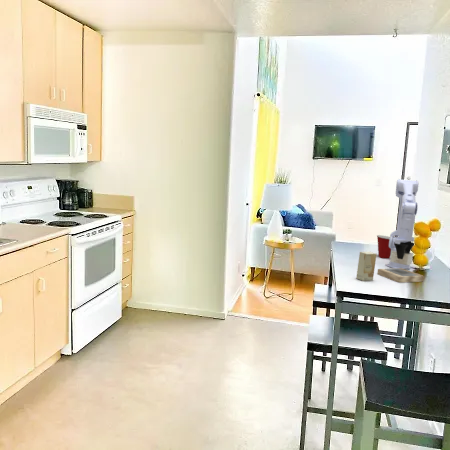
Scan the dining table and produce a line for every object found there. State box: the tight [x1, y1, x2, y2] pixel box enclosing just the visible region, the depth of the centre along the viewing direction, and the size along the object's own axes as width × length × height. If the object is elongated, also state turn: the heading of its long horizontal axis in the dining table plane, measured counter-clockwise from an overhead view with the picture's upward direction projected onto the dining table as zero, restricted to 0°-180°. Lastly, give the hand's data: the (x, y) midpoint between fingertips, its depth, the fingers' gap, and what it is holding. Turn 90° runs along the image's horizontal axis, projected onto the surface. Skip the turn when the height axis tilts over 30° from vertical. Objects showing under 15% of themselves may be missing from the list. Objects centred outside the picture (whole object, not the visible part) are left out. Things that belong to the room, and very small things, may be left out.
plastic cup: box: [376, 234, 391, 260], centre depth 248 cm, size 11×11×12 cm
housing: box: [389, 250, 414, 265], centre depth 205 cm, size 4×8×6 cm, turn 43°
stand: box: [376, 267, 425, 284], centre depth 206 cm, size 14×14×3 cm
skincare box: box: [355, 251, 377, 282], centre depth 197 cm, size 6×4×12 cm
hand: (402, 258), depth 205 cm, fingers closed on housing, 4 cm apart
